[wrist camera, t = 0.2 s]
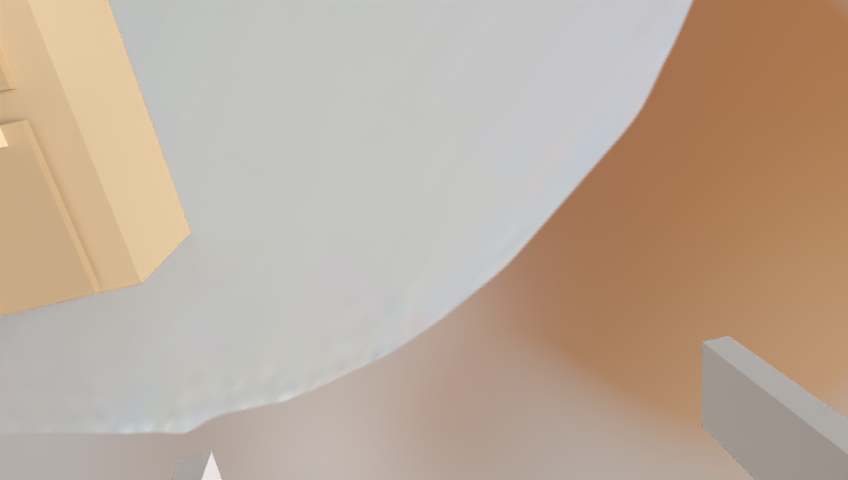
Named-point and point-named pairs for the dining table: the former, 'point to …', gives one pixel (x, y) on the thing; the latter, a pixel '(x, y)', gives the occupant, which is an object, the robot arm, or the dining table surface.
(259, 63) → the dining table surface
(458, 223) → the dining table surface
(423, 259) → the dining table surface
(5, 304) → the flap
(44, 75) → the carton
